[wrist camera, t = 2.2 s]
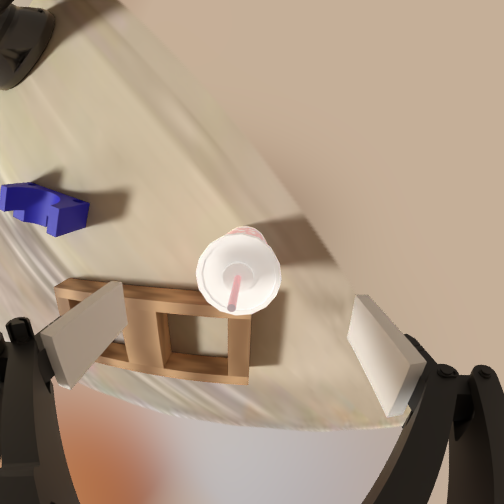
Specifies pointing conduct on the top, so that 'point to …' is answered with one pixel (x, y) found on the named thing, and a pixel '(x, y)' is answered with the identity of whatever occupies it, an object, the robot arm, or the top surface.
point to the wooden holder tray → (165, 333)
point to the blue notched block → (44, 207)
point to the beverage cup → (239, 272)
